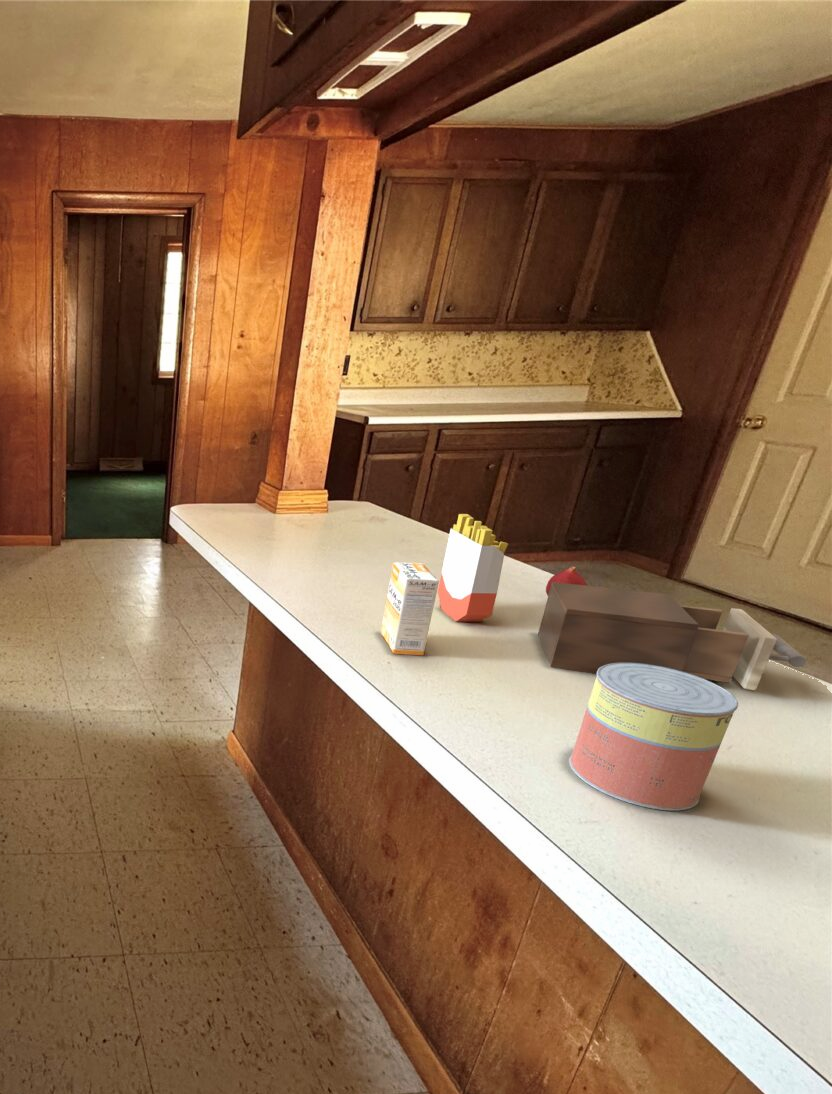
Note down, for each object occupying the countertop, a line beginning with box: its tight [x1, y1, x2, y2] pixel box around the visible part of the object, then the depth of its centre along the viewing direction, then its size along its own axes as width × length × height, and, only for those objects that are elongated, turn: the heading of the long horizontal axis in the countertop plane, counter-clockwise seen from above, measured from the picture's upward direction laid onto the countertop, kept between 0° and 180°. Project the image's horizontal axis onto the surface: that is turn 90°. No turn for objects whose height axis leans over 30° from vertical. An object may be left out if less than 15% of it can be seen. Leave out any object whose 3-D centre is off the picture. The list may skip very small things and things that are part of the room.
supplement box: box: [380, 561, 440, 656], centre depth 107 cm, size 8×5×13 cm, turn 167°
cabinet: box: [537, 582, 699, 675], centre depth 101 cm, size 15×13×10 cm
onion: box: [545, 566, 588, 597], centre depth 120 cm, size 6×6×8 cm
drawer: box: [679, 604, 807, 691], centre depth 96 cm, size 18×11×8 cm, turn 62°
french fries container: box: [437, 513, 509, 623], centre depth 116 cm, size 5×11×18 cm, turn 174°
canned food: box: [568, 663, 739, 812], centre depth 73 cm, size 11×11×12 cm
